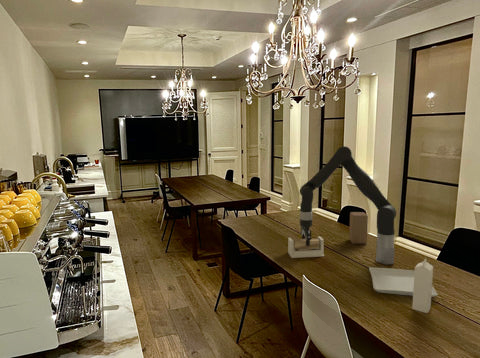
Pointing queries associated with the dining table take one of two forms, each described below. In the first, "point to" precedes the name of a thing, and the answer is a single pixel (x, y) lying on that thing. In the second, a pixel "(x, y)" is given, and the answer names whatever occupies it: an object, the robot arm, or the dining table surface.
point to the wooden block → (358, 227)
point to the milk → (422, 287)
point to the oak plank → (302, 244)
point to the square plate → (394, 281)
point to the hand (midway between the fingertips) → (305, 243)
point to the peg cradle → (306, 250)
